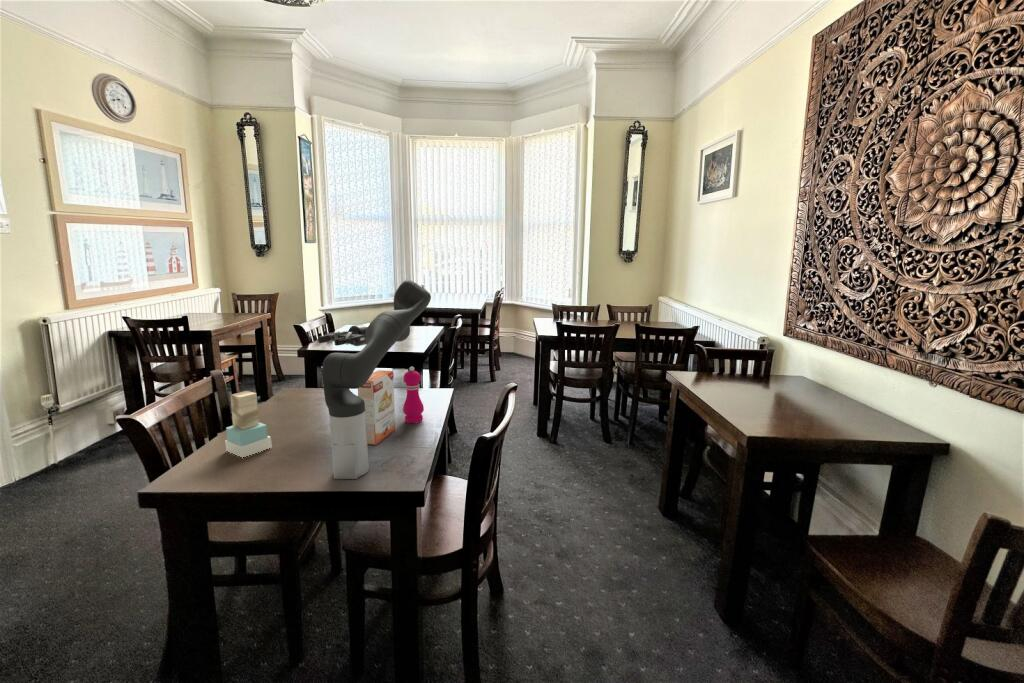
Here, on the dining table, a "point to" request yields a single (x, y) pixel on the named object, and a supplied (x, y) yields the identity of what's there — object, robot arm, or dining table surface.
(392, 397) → the cracker box
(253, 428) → the tower top
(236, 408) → the birch post
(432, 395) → the dining table surface
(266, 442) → the tower base
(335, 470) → the robot arm
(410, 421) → the pepper mill
